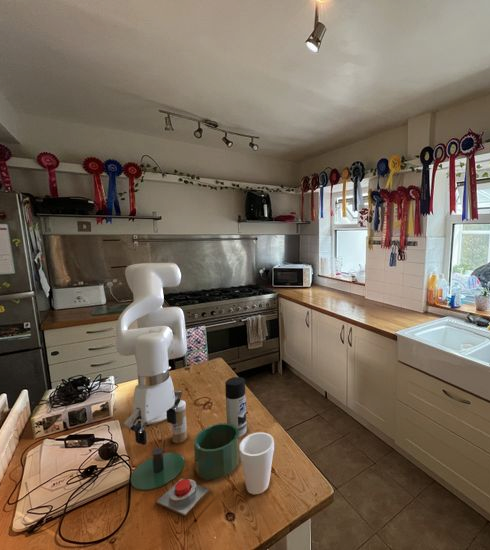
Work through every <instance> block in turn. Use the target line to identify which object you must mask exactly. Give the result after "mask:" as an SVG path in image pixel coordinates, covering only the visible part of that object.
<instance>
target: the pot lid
mask: <svg viewBox="0 0 490 550" xmlns="http://www.w3.org/2000/svg"><path fill="white" fill-rule="evenodd" d="M184 468H185V458H184V457H183V455H181V454H180V453H179V452H164V449H163V448H162V447H157V448H155V449H153V450H152V451H151V457H149V458H147V459H146V460H144V461H143V462H142V463H140V464H139V465H138V466H137V467H136V468H135V469H134V470H133V472H132V474H131V476H130V484H131V486H132V487H133V488H134V489H135V490H137V491H141V492H142V491H143V492H144V491H145V492H146V491H152V490H156V489H159V488H162V487H164V486H167V485H168V484H169V483H171V482H173V481H174V480H175V479H176V478H177V477H179V475H180V474H181V473H182V472H183V470H184Z"/></svg>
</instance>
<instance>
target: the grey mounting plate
mask: <svg viewBox="0 0 490 550" xmlns="http://www.w3.org/2000/svg"><path fill="white" fill-rule="evenodd" d="M183 479H184V478H182V477H181V478H180V479H179V480H178V481H177V482H176V483H174V484H173V485H172V486H171V487H170V488H169V489H168V490H167V491H166V492H164V493H163V494H162V495H161V496H160V497H159V498H158V499H157V500H156V502H155V503H156V505H157V506H160V507H163V508H165V509H167V510H168V511H171V512H174V513H176V514H177V515H180V516H182V517H184V518H185V517H187V516H188V515H189V514H190V512H191V511H193V509H194V508H195V507H196V506H197V505H198V504H199V503H200V502H201V501H202V500H203V498H205V496H206V495H207V494H208V493H209V492H210V488H208V487H205V486H203V485H200V484H197V482H196V480H194V479H191V478H187V479H188V480H189V481H190V490H189V492H188V493H187V494H185V495H183V496H177V495H176V494H175V485H176V484H177V483H178V482H179V481H181V480H183Z"/></svg>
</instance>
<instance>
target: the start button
mask: <svg viewBox="0 0 490 550" xmlns="http://www.w3.org/2000/svg"><path fill="white" fill-rule="evenodd" d="M182 479H183V480H181V481H179V480H178V481H179V482H178V481H177V482H178V483H177V482H176V483H177V484H176V483H175V484H176V485H175V484H174V485H175V494H176V495H177V496H183V495H185V494H187V493H188V492H189V490H190V481H189V480H188V479H189V478H182Z"/></svg>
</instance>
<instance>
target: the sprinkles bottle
mask: <svg viewBox="0 0 490 550" xmlns="http://www.w3.org/2000/svg"><path fill="white" fill-rule="evenodd" d="M177 407H178V409H177V410H176V424H171V433H172V442H173V443H174V444H175V443H176V444H177V443H181V442H184V441H185V440H186V439H187V438H188V435H187V415H186V409H187V404H186V401H185V400H181V399H180V403H179V404H178V406H177Z"/></svg>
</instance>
